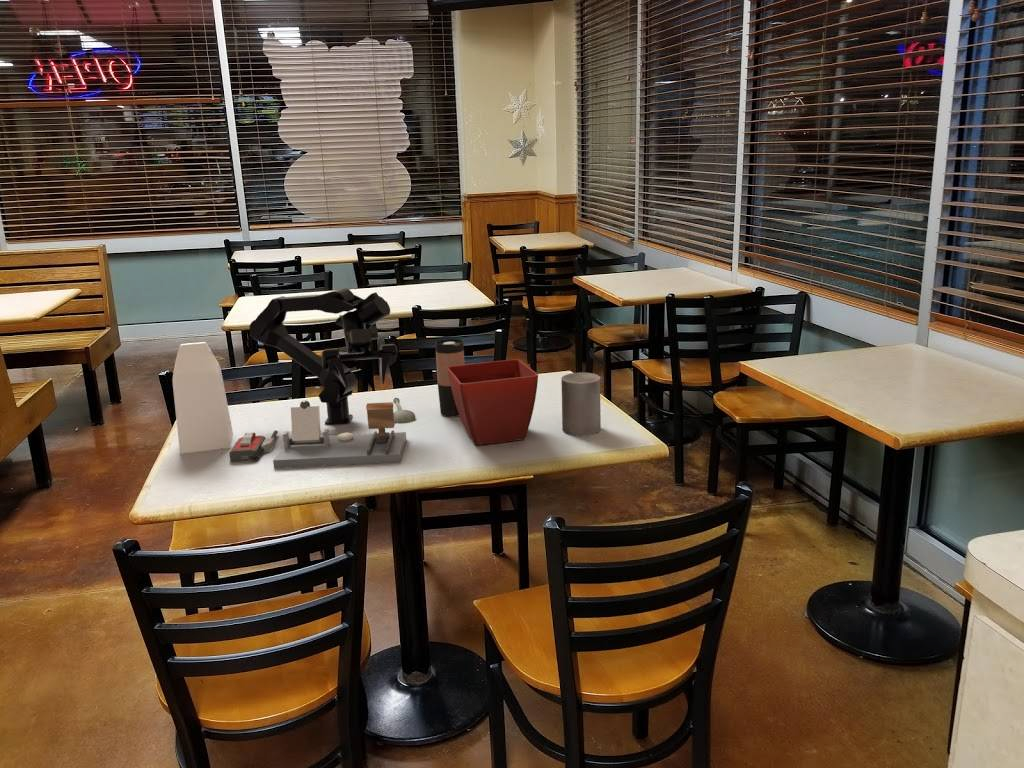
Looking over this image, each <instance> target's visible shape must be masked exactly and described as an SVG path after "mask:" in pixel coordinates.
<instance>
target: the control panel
mask: <svg viewBox="0 0 1024 768" xmlns="http://www.w3.org/2000/svg"><path fill="white" fill-rule="evenodd" d="M322 433H323V435H321V437H324V444H310V445H290V444H289V439H292V437H290V432H289V430H287V431H284V432H283V433H282V439H283V446H282V447H281V449H280V450H279V451H278V453H277V454H276V455H275V457H274V458H273V460H272V463H273V469H286V468H285V467H294V468H307V467H306V466H314V467H328V466H327V465H334V466H349V465H348V464H354V465H367V464H366V463H374V464H390V463H392V462H393V463H401V461H400V460H402V456H403V454H404V450H405V446H406V442H407V432H406V431H403V432H401V431H399V432H395V430H391V432H389V440H388V442H382V443H376V435H377V433H378V431H377V430H376V431H374V432H373V433H361V434H353V433H352V432H343V433H339V434H337V435H330V432H329V429H327V428H326V429H325V428H324V431H323V432H322ZM402 453H403V454H402ZM393 463H392V464H393ZM345 464H347V465H345ZM323 465H324V466H323ZM325 465H326V466H325Z"/></svg>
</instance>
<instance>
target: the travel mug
mask: <svg viewBox="0 0 1024 768" xmlns="http://www.w3.org/2000/svg"><path fill="white" fill-rule="evenodd" d="M434 345H435V346H434V347H435V359H436V379H437V390H438V400H439V408H440V409H439V410H440V411H439V412H440V415H441V416H442V417H451V416H455V417H460V416H459V413H458V410H457V406H456V403H455V400H454V396H453V393H452V389H451V385H450V381H449V376H448V371H447V367H449V366H457V365H466V363H465V351H464V341H463V339H460V338H444V339H439V340H436V341H435V344H434ZM451 418H452V417H451Z"/></svg>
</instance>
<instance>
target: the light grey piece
mask: <svg viewBox="0 0 1024 768" xmlns="http://www.w3.org/2000/svg"><path fill="white" fill-rule="evenodd" d="M320 414H321V413H320V405H314V406H313V405H312V406H311V404H310V401H308V400H302V401H301V402H300V403H299V406H294V407H293V406H291V407H290V416H291V417H290V418H291V421H290V422H291V436H292V437H291V438H292V439H289V444H290V445H310V444H324V437H321V436H322V434H321V417H320V416H321V415H320Z"/></svg>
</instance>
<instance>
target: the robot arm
mask: <svg viewBox="0 0 1024 768" xmlns="http://www.w3.org/2000/svg"><path fill="white" fill-rule="evenodd" d="M304 311H321V312H323V313H326V314H327V313H329V314H335V315H336V314H340V313H343V312H345V313H344V314H340V315H339V316H338V318H337V319H335V322H334V323H335V324H336V325H338V326H339V327H342V329H343V335H344V340H345V345H346V346H345V347H346V352H340V351H339V348H338V347H337V348H334V347H333V348H325V349H323V350H322V352H321V356H320V355H318V354H317V353H316V352H314V351H313V350H312V349H310V348H309V347H307V346H306V345H305V344H303V343H302V342H300V341H299V340H298V339H296V338H295V337H294V336H293V335H291V334H289V331H288V330H287V328H286V325H285V324H284V321H285V320H286V316H287V313H289V312H304ZM390 315H391V307H390V305H389V303H388V301H386V300H385V299H384V298H383V297H382V296H380V295H379V294H378V292H372V293H371V294H368V296H367V297H366V298H363V297H360V296H358V295H356V294H354V292H352V291H351V290H350V288H346V287H344V288H339V289H337V290H333V291H329V292H326V293H322V294H311V295H310V294H309V295H297V296H296V295H295V296H283V295H282V296H279V297H275V298H272V299H271V300H270V301H269V302H268V304H267V306H266V307H265V308H264V309H263V310H262V311H261V312H260V313H259V314H258V315H257V317H256V318H255V319H254V320H253V321H251V322H250V324H249V333H250V334H249V335H250V337H252V339H253V340H254V341H255V340H256V341H257V342H259V343H261V344H263V345H265V346H270V347H274V348H276V349H279V350H280V352H282V353H283V354H285V355H287V356H288V358H291V359H292V360H294V361H295V362H296V363H298V364H299V365H300V366H302V367H303V368H304V369H306V370H307V371H308V372H311V374H313V375H314V376H316V377H317V378H318V381H319V382H320V384H321V386H322V388H323V389H322V390H321V392H320V393H319V394H318V398H319V400H320V402H321V403H325V404H326V411H327V412H326V413H327V418H326V420H325V422H324V424H325V425H337V424H349V423H350V422H351V420H352V419H353V414H351V413H350V411H349V409H350V408H349V399H348V397H349V396H352V395H353V392H354V389H355V388H356V386H357V383H358V381H357V375H356V374H355V373H354V372H353V369H352V368H349V367H347V365H345V363H344V362H346V361H359V360H361V361H362V360H374V359H379V374H380V381H381V385H385V379H386V373H387V368H388V367H391V366H392V364H394V363H396V361H397V357H398V353H399V351H398V347H397V345H396V344H395V343H387V344H380V347H379V349H378V350H371V348H372V341H374V340H377V339H379V331H378V327H377V325H375V324H376V323H378V322H379V321H381V320H383V319H385V318H386V317H388V316H390ZM366 324H367V325H368V326H369V327H368V328H366Z"/></svg>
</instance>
